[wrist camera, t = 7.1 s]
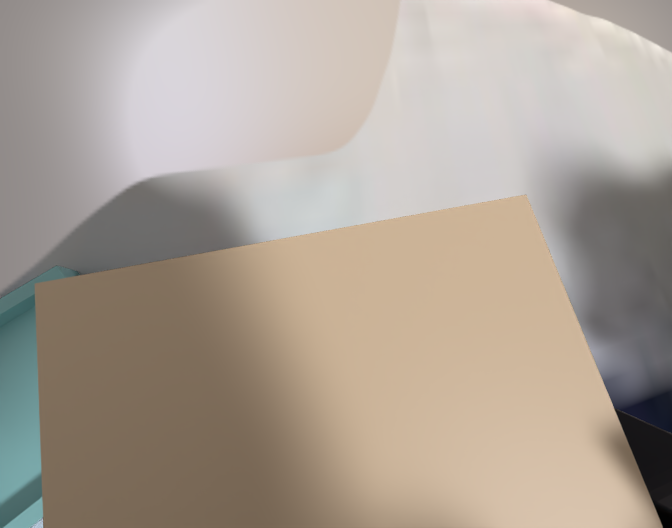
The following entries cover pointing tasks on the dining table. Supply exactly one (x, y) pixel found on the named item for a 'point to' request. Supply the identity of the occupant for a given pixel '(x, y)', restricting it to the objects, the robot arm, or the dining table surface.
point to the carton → (333, 386)
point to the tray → (21, 406)
